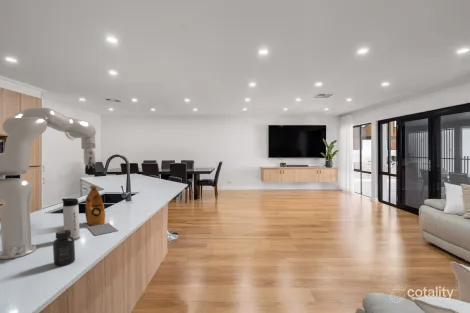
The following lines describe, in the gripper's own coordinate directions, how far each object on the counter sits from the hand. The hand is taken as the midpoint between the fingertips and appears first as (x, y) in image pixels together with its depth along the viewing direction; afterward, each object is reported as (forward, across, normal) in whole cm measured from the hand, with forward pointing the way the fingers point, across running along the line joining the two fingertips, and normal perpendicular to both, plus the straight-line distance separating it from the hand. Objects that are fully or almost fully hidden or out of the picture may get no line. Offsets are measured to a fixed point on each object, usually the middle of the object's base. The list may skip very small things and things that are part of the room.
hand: (89, 174), depth 159 cm
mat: (+28, -28, 0) cm, 40 cm away
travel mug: (+28, -35, +15) cm, 47 cm away
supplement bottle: (+28, -64, +21) cm, 73 cm away
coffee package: (+28, -12, 0) cm, 31 cm away
